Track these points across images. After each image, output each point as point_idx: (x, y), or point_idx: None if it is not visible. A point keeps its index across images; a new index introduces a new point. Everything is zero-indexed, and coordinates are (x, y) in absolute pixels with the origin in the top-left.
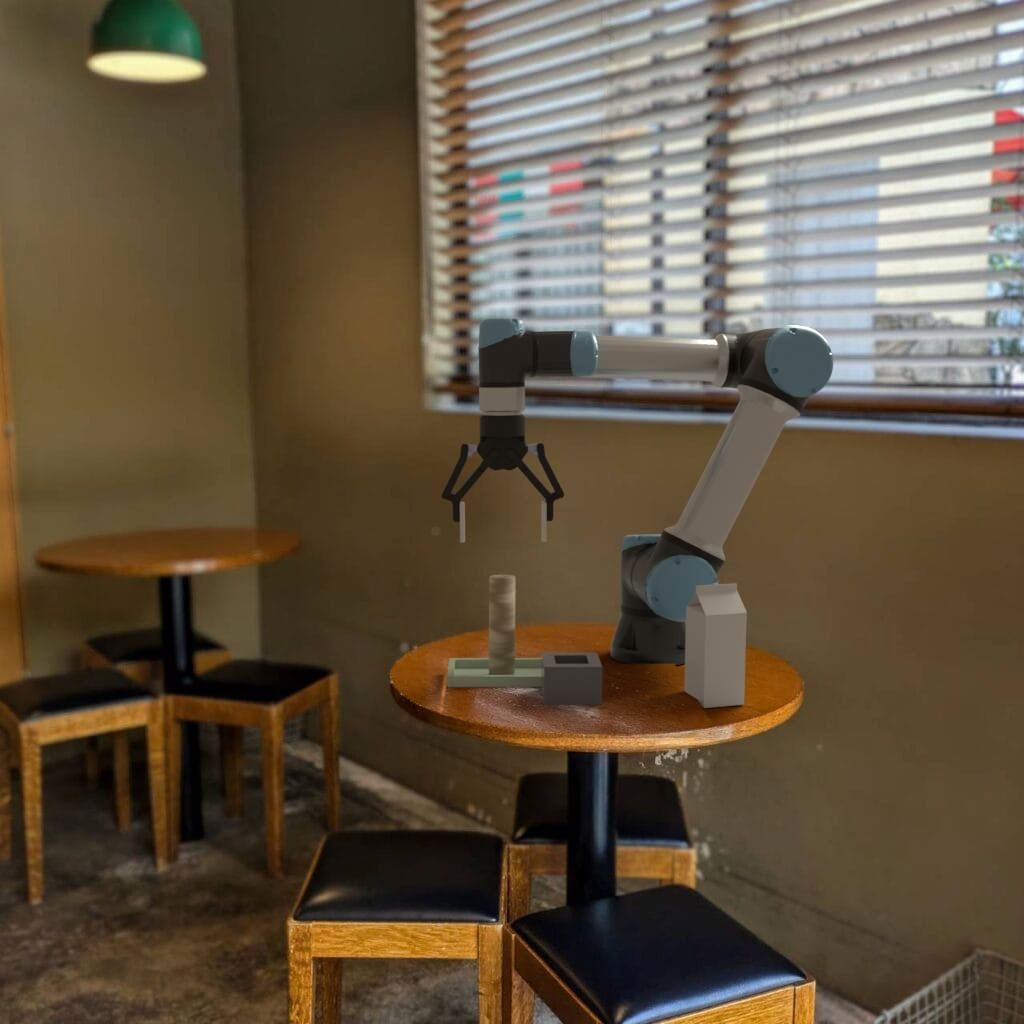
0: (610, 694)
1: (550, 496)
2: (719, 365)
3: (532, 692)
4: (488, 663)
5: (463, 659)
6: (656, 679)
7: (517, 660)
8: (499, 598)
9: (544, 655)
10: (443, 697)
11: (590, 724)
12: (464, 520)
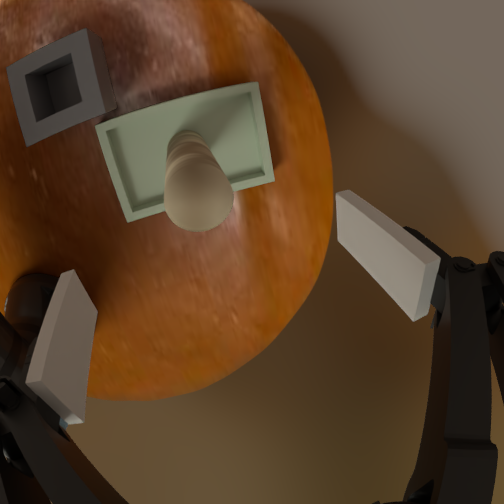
0: None
1: (10, 412)
2: None
3: None
4: None
5: (253, 178)
6: (8, 227)
7: None
8: (194, 155)
9: (97, 95)
10: (251, 61)
11: (41, 13)
12: (379, 231)
